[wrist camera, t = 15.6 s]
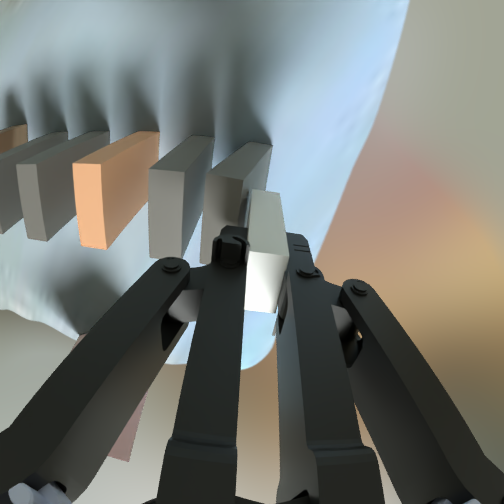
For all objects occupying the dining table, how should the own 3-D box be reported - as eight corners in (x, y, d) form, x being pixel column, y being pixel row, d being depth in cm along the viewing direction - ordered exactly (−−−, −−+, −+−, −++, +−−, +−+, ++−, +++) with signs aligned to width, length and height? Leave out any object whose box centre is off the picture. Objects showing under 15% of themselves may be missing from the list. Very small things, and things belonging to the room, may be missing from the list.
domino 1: (55, 182, 24) (-12, 231, 15) (53, 132, 22) (-24, 165, 13) (70, 183, 24) (2, 233, 16) (67, 131, 22) (-10, 165, 13)
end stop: (19, 190, 24) (-17, 214, 19) (14, 125, 21) (-27, 141, 16) (32, 191, 24) (-5, 216, 19) (27, 124, 21) (-15, 139, 16)
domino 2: (93, 185, 24) (27, 238, 16) (92, 131, 22) (16, 164, 13) (110, 186, 24) (47, 241, 16) (109, 131, 22) (36, 164, 13)
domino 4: (241, 200, 25) (199, 262, 16) (249, 141, 22) (206, 173, 14) (262, 204, 25) (231, 270, 16) (272, 145, 22) (243, 180, 14)
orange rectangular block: (159, 131, 22) (100, 164, 13) (157, 189, 25) (107, 250, 16) (139, 130, 22) (72, 163, 13) (137, 188, 24) (81, 246, 16)
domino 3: (187, 193, 25) (149, 257, 16) (192, 134, 22) (148, 168, 14) (208, 196, 25) (180, 262, 16) (214, 137, 22) (184, 172, 14)
